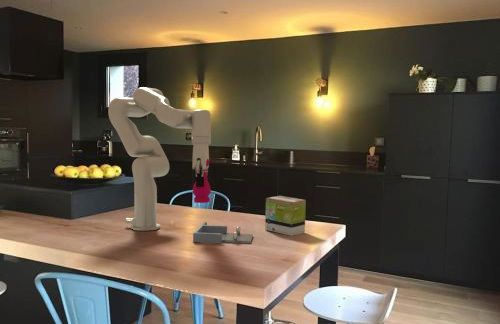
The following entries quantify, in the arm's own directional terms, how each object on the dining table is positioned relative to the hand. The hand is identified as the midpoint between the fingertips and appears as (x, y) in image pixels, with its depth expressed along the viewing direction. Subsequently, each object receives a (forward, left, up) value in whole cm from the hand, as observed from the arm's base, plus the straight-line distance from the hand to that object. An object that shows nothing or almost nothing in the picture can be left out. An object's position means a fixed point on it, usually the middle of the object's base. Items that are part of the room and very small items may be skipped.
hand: (201, 185), depth 179 cm
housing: (+4, +3, -21) cm, 22 cm away
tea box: (+34, +18, -21) cm, 44 cm away
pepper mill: (0, 0, -7) cm, 7 cm away
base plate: (+15, 0, -21) cm, 26 cm away
